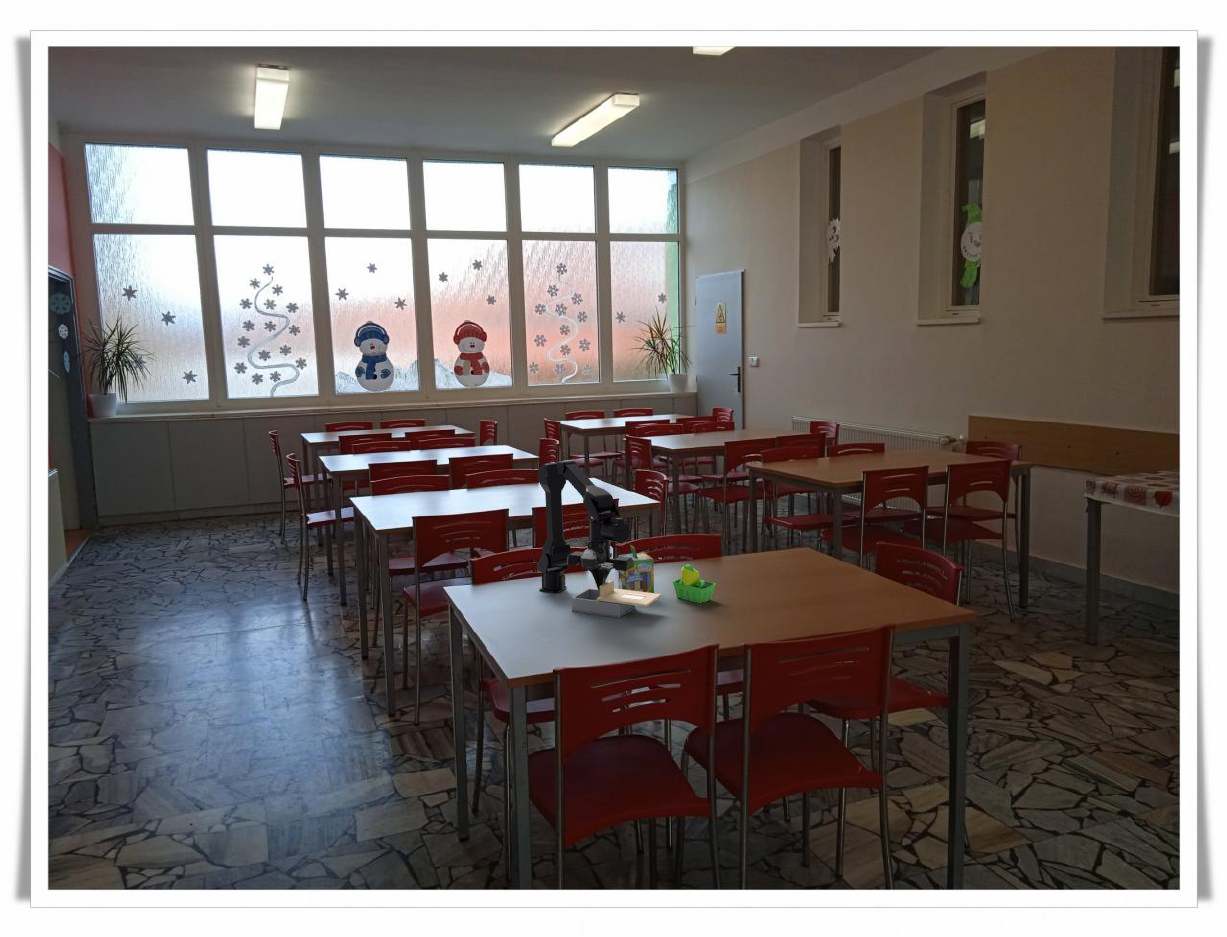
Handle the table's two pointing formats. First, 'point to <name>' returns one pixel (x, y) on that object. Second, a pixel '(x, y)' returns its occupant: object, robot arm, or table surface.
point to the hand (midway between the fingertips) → (600, 590)
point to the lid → (625, 595)
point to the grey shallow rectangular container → (598, 605)
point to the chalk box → (638, 573)
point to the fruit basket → (693, 586)
